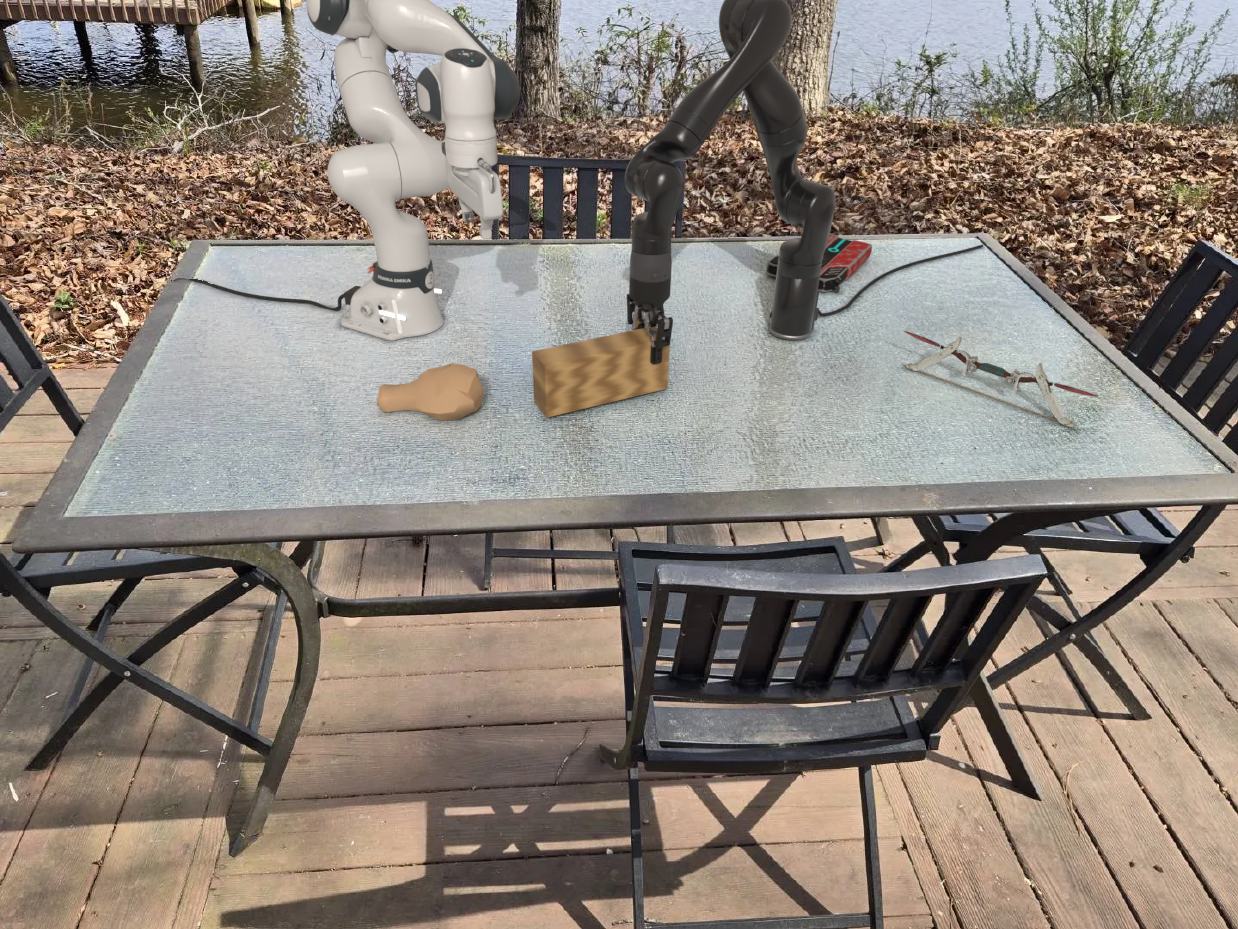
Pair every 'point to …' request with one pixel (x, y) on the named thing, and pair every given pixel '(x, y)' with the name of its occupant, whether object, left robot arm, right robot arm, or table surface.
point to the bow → (1010, 379)
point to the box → (596, 372)
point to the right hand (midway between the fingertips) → (647, 355)
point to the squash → (436, 393)
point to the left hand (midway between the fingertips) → (477, 229)
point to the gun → (835, 262)
